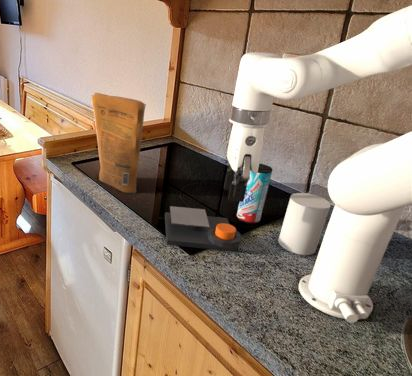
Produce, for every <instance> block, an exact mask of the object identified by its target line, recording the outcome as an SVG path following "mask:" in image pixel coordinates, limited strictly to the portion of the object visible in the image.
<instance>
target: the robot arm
mask: <svg viewBox="0 0 412 376" xmlns="http://www.w3.org/2000/svg"><path fill="white" fill-rule="evenodd" d="M238 66H239V67H238V72H237V78H236V82H235V88H234V94H233V99H232V104H231V110H230V115H229V119H228V120H229V123H231V124H232V125H231V130H230V134H229V139H228V145H227V150H226V160H227V161H228V165H227V169H226V172H227V173H226V175H225V178H224V184H223V189H224V190H225V191H228V196H227V200H228V201H229V202H243V201H244V197H245V192H246V188H247V184H248V180H249V179H250V169H251V171H252V173H254V174H256V173H257V172H258V168H259V164H261V157H262V151H263V144H264V136H265V128H266V127H268V126H269V121H270V117H271V113H272V109H273V104H274V99H275V98H277V99H279V100H283V101H296V100H300V99H304V98H307V97H310V96H313V95H317V94H320V93H323V92H326V91H329V90H331V89H334V88H337V87H340V86H344V85H346V84H347V85H348V84H350V83H353V82H355V81H359V80H362V79H366V78H368V77H371V76H375V75H379V74H387V73H391V72H395V71H397V70H402V69H404V68H407V67H410V66H412V4H411V5H408V6H406V7H403V8H401V9H398V10H396V11H394V12H391V13H389V14H386V15H384V16H382V17H380V18H379V19H376V20H375V21H374V22H373V23H371V24H370V26H368V28H366V29H365V30H363V31H362V32H361V33H359V34H357V35H355V36H353V37H351V38H348V39H347V40H344V41H342V42H339V43H337V44H334V45H332V46H330V47H327V48H325V49H322V50H320V51H317V52H315V53H311V54H305V55H298V56H292V57H281V55H279V54H276V53H272V52H265V51H263V52H262V51H252V52H246V53H245V54H243V55H242V56H241V57H240V60H239V65H238ZM327 192H328V196H329V198H330V200H331V202H332V203H333V204H334V206H333V209H332V211H331V215H330V218H329V221H328V223H327V227H326V229H325V233H324V235H323V238H322V240H321V245H320V248H319V250H318V253H317V257H316V260H315V263H314V265H313V269H312V271H311V274H305V275H304V276H302V278H301V279H299V283H298V291H299V293H300V295H301V296H302V298H303V299H304V300H305V301H306V302H307V303H308V304H309V305H311V306H312V307H314V308H315V309H317V310H318V311H321V312H322V313H324V314H327V315H329V316H332V317H335V318H338V319H344V320H345V321H346V322H347V323H350V324H355V323H356V322H357V321H358V320H365V319H366V320H367V319H368V318H369V316H370V315H371V314H372V311H373V309H374V303H373V301H372V299H371V297H370V296H369V295H368V294H369V291H370V289H371V287H372V284H373V282H374V280H375V277H376V275H377V272H378V270H379V267H380V266H381V262H382V260H383V258H384V255H385V253H386V250H387V248H388V245H389V243H390V241H391V240H392V237H393V235H394V232H395V230H396V227H397V225H398V223H399V221H400V219H401V216H402V214H403V212H404V210H405V208H406V207H409V206H411V205H412V131H409V132H407V133H404V134H403V135H399V136H398V137H395V138H393V139H391V140H389V141H386V142H384V143H383V142H381V143H375V144H370V145H368V146H366V147H363V148H362V149H359V150H358V151H356V152H354V153H353V154H352V155H349V157H347V158H346V159H344V160H343V161H341V162H340V163H338V164H337V165H336V166H335V167H334V168H333V170H332V171H331V173H330V174H329V177H328V180H327Z"/></svg>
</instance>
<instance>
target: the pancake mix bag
mask: <svg viewBox="0 0 412 376" xmlns="http://www.w3.org/2000/svg"><path fill="white" fill-rule="evenodd" d="M90 99H91V106H92V110H93V111H92V112H93V118H94V126H95V132H96V140H97V141H96V142H97V150H98V159H99V164H100V168H99V173H98V180H99V182H102V183H104V184H105V185H107V186H109V187H112V188H114V189H116V190H118V191H120V192H122V193H126V194H137V172H138V167H139V159H140V153H141V147H142V137H143V129H144V128H143V127H144V119H145V110H146V106H147V104H146V103H145V102H143V101H141V100H137V99H133V98H129V97H123V96H118V95H109V94H106V93H100V92H94V94H91V98H90Z"/></svg>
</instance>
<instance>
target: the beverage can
mask: <svg viewBox="0 0 412 376" xmlns="http://www.w3.org/2000/svg"><path fill="white" fill-rule="evenodd" d="M272 172H273V167H271V166H270V165H267V164H264V163H259V168H258V172H257V173H256V174H254V173H252V171H251V169H250V179H249V180H248V184H247V188H246V192H245V197H244V201H243V202H239V203H238V205H237V212H236V218H237V220H238V221H240V222H242V223H244V224H247V225H249V224H250V225H255V224H258V223H259V222H260V221H261V218H262V213H263V209H264V206H265V203H266V202H265V201H266V198H267V194H268V190H269V186H270V181H271V178H272V174H273V173H272Z"/></svg>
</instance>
